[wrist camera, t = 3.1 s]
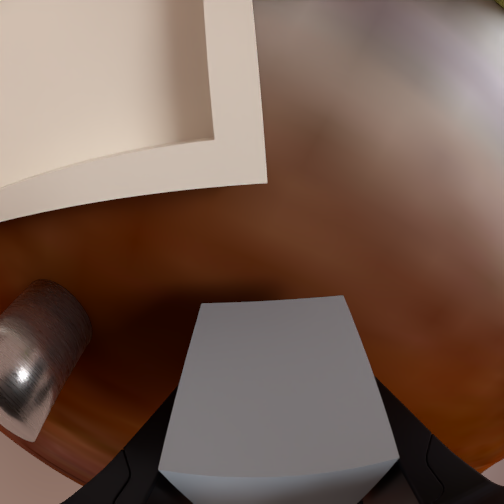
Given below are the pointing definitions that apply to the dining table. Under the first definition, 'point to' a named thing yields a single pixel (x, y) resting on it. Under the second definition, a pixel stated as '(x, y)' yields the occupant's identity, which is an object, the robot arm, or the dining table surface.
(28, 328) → the metal cylinder
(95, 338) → the dining table surface
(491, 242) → the dining table surface
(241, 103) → the parts tray
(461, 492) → the robot arm
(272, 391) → the painted block
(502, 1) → the plant pot
